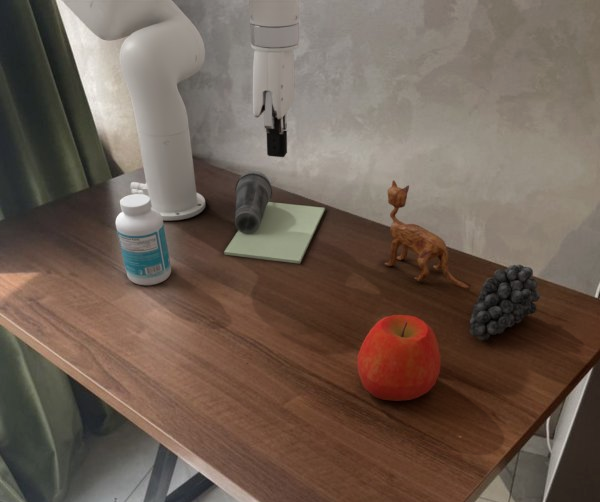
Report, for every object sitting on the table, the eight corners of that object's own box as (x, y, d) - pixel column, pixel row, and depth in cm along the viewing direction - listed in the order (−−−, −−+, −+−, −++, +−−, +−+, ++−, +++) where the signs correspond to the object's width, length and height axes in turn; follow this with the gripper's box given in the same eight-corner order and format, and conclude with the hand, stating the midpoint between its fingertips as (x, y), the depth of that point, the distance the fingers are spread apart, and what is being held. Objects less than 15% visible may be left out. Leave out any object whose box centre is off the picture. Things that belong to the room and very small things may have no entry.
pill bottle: (146, 261, 106) (132, 186, 97) (180, 271, 104) (169, 195, 95) (118, 280, 102) (100, 203, 92) (153, 291, 99) (138, 214, 90)
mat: (224, 254, 108) (223, 251, 108) (258, 203, 124) (258, 200, 124) (299, 263, 106) (299, 260, 106) (324, 210, 122) (324, 207, 121)
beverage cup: (221, 210, 109) (235, 156, 122) (235, 243, 115) (247, 188, 128) (259, 202, 108) (269, 148, 121) (271, 236, 113) (280, 181, 126)
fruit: (495, 300, 81) (547, 257, 89) (443, 295, 87) (495, 255, 95) (501, 356, 85) (549, 310, 93) (450, 348, 91) (500, 305, 99)
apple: (382, 423, 76) (391, 358, 69) (339, 375, 83) (343, 310, 76) (451, 397, 80) (466, 332, 73) (404, 353, 87) (413, 289, 80)
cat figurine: (478, 287, 101) (496, 208, 91) (456, 302, 97) (472, 222, 88) (392, 250, 110) (401, 175, 101) (369, 263, 106) (376, 187, 97)
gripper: (264, 24, 100) (268, 138, 112) (237, 45, 89) (244, 169, 102) (308, 27, 99) (307, 142, 111) (286, 48, 88) (287, 173, 100)
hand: (277, 154), depth 106 cm, fingers closed
